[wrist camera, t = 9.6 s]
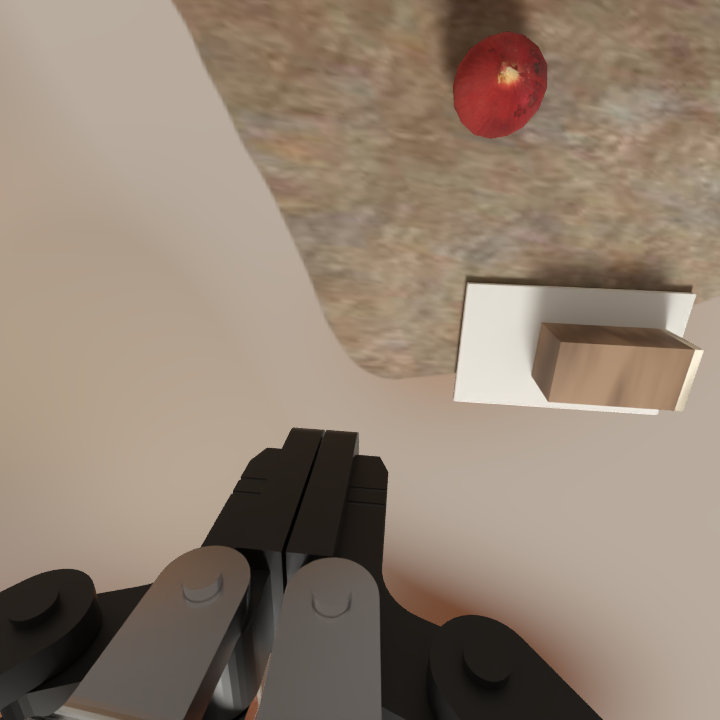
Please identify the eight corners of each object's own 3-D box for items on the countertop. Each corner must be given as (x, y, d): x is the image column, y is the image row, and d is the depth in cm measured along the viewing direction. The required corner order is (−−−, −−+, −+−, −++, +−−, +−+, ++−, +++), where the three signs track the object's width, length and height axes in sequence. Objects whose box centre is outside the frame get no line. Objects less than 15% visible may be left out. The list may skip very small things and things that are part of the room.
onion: (529, 43, 30) (569, -4, 23) (531, 134, 32) (567, 119, 25) (445, 61, 31) (457, 21, 24) (451, 149, 33) (464, 138, 26)
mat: (691, 292, 35) (696, 294, 35) (653, 411, 39) (657, 415, 39) (466, 282, 37) (467, 283, 36) (453, 398, 41) (453, 400, 40)
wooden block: (541, 322, 37) (665, 329, 36) (531, 376, 39) (649, 383, 38) (561, 342, 32) (703, 350, 31) (548, 402, 34) (682, 411, 33)
